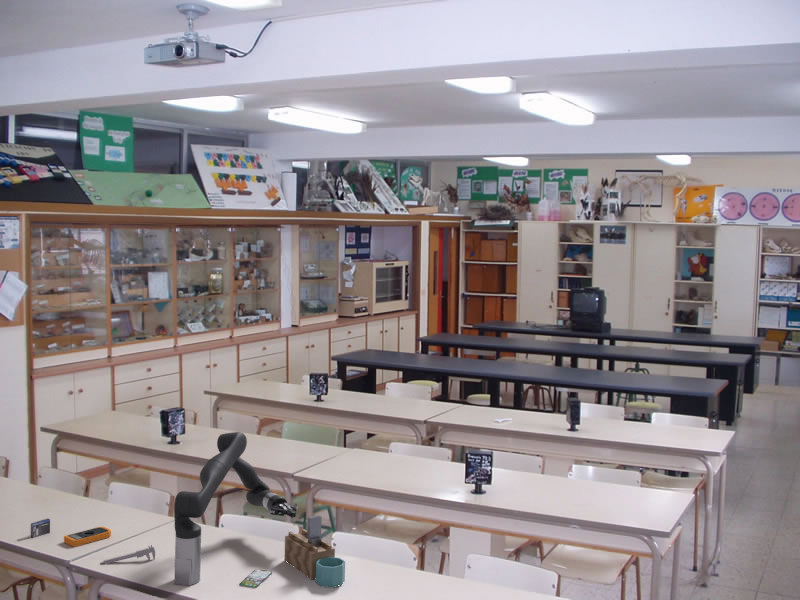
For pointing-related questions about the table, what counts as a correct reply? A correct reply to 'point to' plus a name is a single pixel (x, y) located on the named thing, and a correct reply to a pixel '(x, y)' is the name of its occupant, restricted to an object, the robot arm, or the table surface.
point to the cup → (330, 571)
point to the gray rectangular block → (314, 530)
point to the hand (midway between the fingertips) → (293, 515)
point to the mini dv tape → (40, 528)
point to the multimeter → (87, 536)
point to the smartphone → (256, 578)
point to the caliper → (133, 555)
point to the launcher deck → (305, 553)
